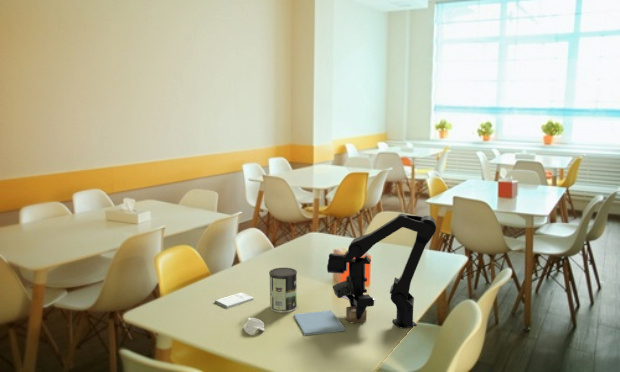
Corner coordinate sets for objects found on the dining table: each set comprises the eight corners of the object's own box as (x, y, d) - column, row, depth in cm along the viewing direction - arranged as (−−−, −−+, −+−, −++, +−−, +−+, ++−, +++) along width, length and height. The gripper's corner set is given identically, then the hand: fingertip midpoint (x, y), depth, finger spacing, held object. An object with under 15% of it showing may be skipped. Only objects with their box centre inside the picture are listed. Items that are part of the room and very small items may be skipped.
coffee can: (294, 301, 202) (294, 266, 199) (298, 312, 192) (298, 275, 189) (268, 303, 200) (268, 267, 198) (270, 313, 190) (270, 276, 188)
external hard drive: (214, 303, 201) (240, 295, 209) (227, 310, 195) (253, 301, 204) (214, 299, 200) (240, 291, 209) (227, 305, 195) (253, 297, 203)
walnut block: (366, 320, 184) (366, 310, 184) (350, 322, 183) (350, 311, 182) (361, 315, 188) (362, 305, 188) (346, 317, 187) (346, 306, 186)
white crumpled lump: (239, 332, 177) (237, 318, 177) (254, 324, 182) (253, 311, 181) (254, 338, 172) (252, 324, 171) (269, 330, 176) (267, 316, 175)
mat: (344, 330, 176) (344, 328, 176) (304, 335, 173) (304, 333, 172) (330, 312, 191) (330, 310, 191) (293, 316, 188) (293, 314, 188)
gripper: (327, 268, 190) (327, 308, 192) (343, 285, 172) (343, 329, 174) (356, 265, 193) (355, 305, 195) (375, 282, 175) (374, 326, 177)
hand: (356, 316), depth 185 cm, fingers closed on walnut block, 4 cm apart
